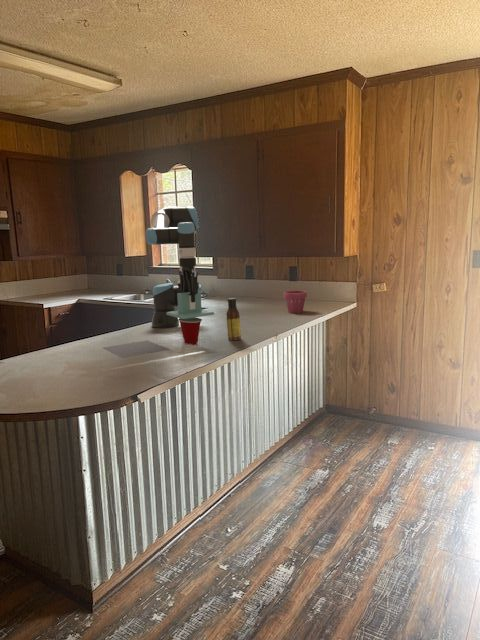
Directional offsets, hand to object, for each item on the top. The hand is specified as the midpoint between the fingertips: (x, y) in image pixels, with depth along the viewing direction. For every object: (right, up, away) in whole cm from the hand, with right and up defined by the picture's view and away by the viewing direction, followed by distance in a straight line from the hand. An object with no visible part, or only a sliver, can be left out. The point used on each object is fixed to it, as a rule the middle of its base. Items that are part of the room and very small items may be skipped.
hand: (189, 308), depth 224 cm
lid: (0, -3, +1) cm, 3 cm away
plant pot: (+58, 0, +83) cm, 101 cm away
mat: (-23, -19, -6) cm, 31 cm away
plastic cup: (0, -17, +3) cm, 17 cm away
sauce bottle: (+20, -15, +10) cm, 27 cm away
